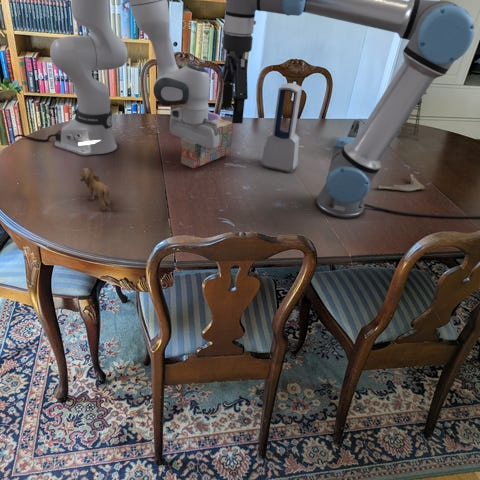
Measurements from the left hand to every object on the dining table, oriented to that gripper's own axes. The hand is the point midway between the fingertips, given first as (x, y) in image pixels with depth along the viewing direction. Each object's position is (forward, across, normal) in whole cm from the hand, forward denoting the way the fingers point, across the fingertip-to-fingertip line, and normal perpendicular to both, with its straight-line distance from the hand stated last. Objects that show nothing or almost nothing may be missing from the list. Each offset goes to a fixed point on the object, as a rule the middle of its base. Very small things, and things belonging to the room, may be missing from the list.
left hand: (193, 153), depth 165 cm
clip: (+5, +22, -32) cm, 39 cm away
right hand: (-24, -25, +14) cm, 37 cm away
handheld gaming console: (+5, -33, -62) cm, 71 cm away
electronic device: (+5, -22, -24) cm, 33 cm away
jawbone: (+5, -61, -44) cm, 75 cm away
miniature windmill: (+5, -44, -102) cm, 112 cm away
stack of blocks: (+4, 0, -8) cm, 9 cm away
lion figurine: (+6, +3, +40) cm, 41 cm away
